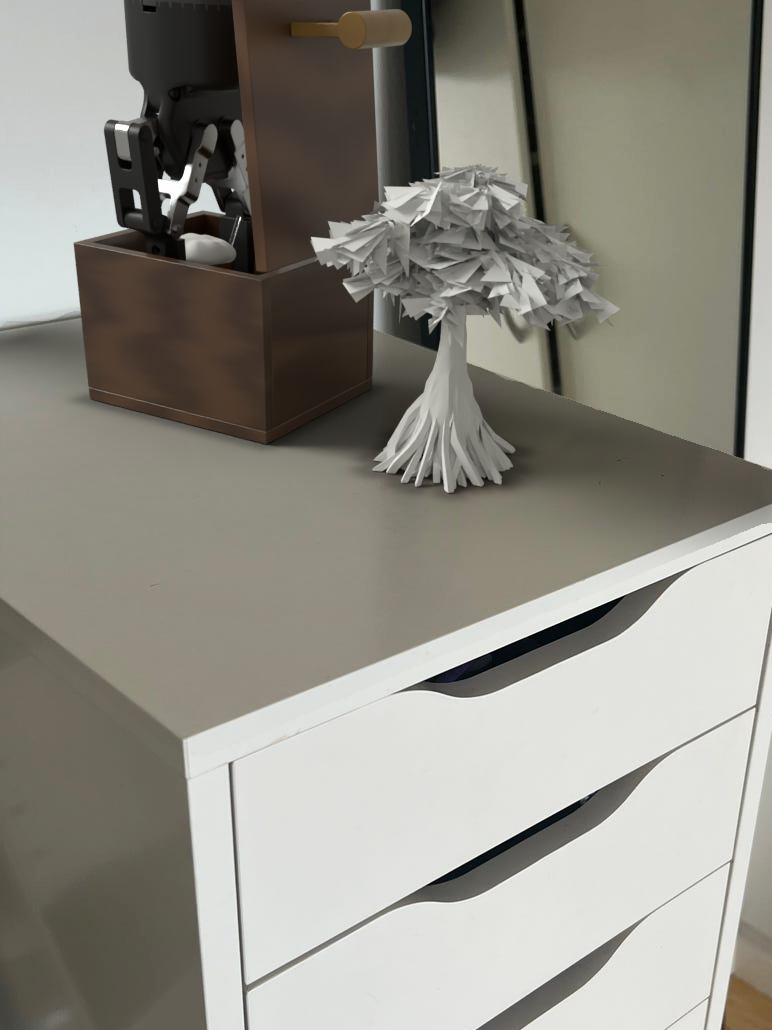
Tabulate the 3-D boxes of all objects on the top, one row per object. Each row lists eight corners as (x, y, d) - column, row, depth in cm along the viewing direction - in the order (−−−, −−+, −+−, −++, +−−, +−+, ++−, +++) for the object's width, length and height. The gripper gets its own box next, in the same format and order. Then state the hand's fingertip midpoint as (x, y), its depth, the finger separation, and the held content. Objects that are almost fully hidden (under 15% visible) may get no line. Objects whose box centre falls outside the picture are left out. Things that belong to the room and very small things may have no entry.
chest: (89, 399, 78) (73, 242, 73) (209, 350, 88) (202, 210, 83) (266, 444, 73) (261, 280, 68) (372, 388, 83) (375, 241, 78)
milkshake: (264, 378, 81) (259, 223, 76) (193, 392, 78) (184, 231, 73) (227, 359, 84) (220, 209, 79) (157, 372, 81) (146, 216, 76)
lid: (228, -23, 61) (323, -24, 59) (358, -24, 71) (443, -25, 69) (255, 271, 68) (341, 280, 66) (370, 233, 78) (447, 240, 76)
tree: (612, 525, 66) (652, 209, 58) (317, 528, 64) (315, 198, 55) (546, 409, 82) (570, 146, 73) (306, 408, 79) (303, 135, 71)
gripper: (214, -15, 76) (224, 256, 85) (49, -13, 65) (80, 300, 74) (315, -4, 74) (315, 275, 82) (163, 1, 62) (181, 323, 71)
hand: (204, 285), depth 78 cm, fingers open, 6 cm apart
